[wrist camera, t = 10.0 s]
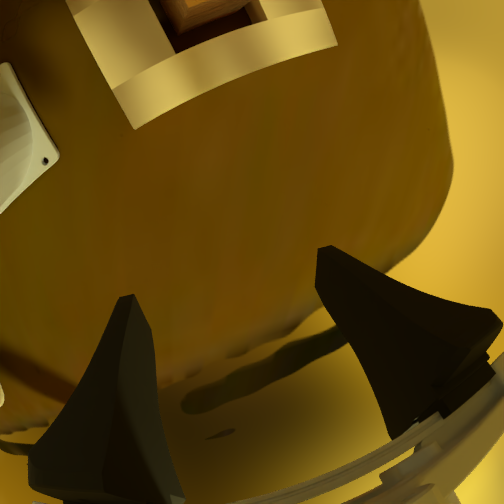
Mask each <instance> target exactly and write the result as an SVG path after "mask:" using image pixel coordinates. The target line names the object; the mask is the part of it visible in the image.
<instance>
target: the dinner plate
mask: <svg viewBox="0 0 504 504" xmlns="http://www.w3.org/2000/svg"><path fill="white" fill-rule="evenodd" d="M3 402H4V392H3V389H2V386H1V384H0V407H1V406H2V404H3Z"/></svg>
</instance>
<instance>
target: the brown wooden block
mask: <svg viewBox="0 0 504 504" xmlns="http://www.w3.org/2000/svg"><path fill="white" fill-rule="evenodd" d="M250 1H251V0H159V2H160V4H161V6H162V8H163V9H164V11H165V13H166V15H167V17H168V19H169V21H170V22H171V24H172V26H173V28H174V30H175V32H176V34H177V36H179V35H181V34H183V33H186V32H188V31H190V30H193V29H195V28H197V27H200V26H202V25H205V24H207V23H210V22H212V21H215V20H218V19H221V18H223V17H226V16H229V15H232V14H234V13H236V12H237V11H238V10H239V9H241V8H242V7H243V6H245V5H246V4H247V3H248V2H250Z"/></svg>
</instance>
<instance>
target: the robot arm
mask: <svg viewBox="0 0 504 504" xmlns="http://www.w3.org/2000/svg"><path fill="white" fill-rule="evenodd" d="M44 157H46V158H48V160H49V162H48V164H46V163H45V162H44ZM58 159H59V151H58V149H57V148H56V146H55V144H54V143H53V141H52V139H51V138H50V136H49V135H48V133H47V131H46V130H45V128H44V126H43V124H42V123H41V121H40V119H39V118H38V116H37V114H36V112H35V110H34V109H33V107H32V105H31V103H30V101H29V100H28V98H27V96H26V94H25V92H24V90H23V88H22V86H21V84H20V82H19V80H18V78H17V76H16V74H15V72H14V70H13V68H12V66H11V64H10V63H8V62H5V63H2V64H1V65H0V214H1V213H2V212H3V211H4V210H5V209H6V208H7V206H8V205H9V204H10V203H11V202H12V201H13V200H14V199H15V198H16V197H17V196H18V195H20V194H21V193H22V192H23V191H24V190H25V189H26V188H27V187H28V186H29V185H30V184H31V183H32V182H33V181H34V180H36V179H37V178H38V177H39V176H40V175H41V174H42V173H44V172H45V171H46V170H47V169H48V168H49V167H51V166H52V165H53V164H54V163H55V162H56V161H57V160H58ZM315 288H316V290H317V293H318V295H319V297H320V299H321V301H322V303H323V305H324V307H325V308H326V310H327V311H328V312H329V314H330V316H331V317H332V319H333V320H334V322H335V323H336V325H337V326H338V328H339V329H340V331H341V332H342V334H343V335H344V337H345V338H346V339H347V341H348V342H349V344H350V345H351V347H352V349H353V350H354V352H355V354H356V356H357V357H358V359H359V361H360V363H361V365H362V367H363V369H364V372H365V374H366V376H367V378H368V380H369V383H370V385H371V387H372V389H373V392H374V394H375V397H376V399H377V402H378V404H379V407H380V410H381V413H382V415H383V418H384V421H385V424H386V428H387V431H388V434H389V436H390V438H391V439H392V441H391V442H389V443H387V444H386V445H384V446H382V447H381V448H378V449H376V450H375V451H373V452H371V453H369V454H367V455H365V456H363V457H361V458H359V459H357V460H355V461H353V462H351V463H348V464H346V465H344V466H342V467H340V468H337V469H335V470H333V471H331V472H328V473H326V474H324V475H321V476H318V477H316V478H313V479H311V480H308V481H305V482H303V483H300V484H297V485H294V486H291V487H288V488H285V489H282V490H278V491H275V492H272V493H268V494H265V495H262V496H258V497H253V498H250V499H245V500H241V501H237V502H232V503H227V504H297V503H300V502H303V501H305V500H308V499H311V498H314V497H316V496H319V495H321V494H324V493H326V492H329V491H331V490H333V489H335V488H338V487H340V486H343V485H345V484H347V483H349V482H351V481H353V480H355V479H357V478H359V477H361V476H363V475H365V474H367V473H369V472H371V471H373V470H375V469H377V468H379V467H380V466H382V465H384V464H386V463H387V462H389V461H391V460H393V459H394V458H396V457H398V456H400V455H401V454H403V453H404V452H406V451H407V450H409V449H411V448H412V447H414V446H415V445H416V446H415V448H414V453H413V454H412V455H411V456H409V457H408V458H406V459H404V460H403V461H401V462H400V463H398V464H396V465H395V466H393V467H391V468H389V469H388V470H386V471H384V472H382V473H381V474H380V475H379V477H380V479H381V481H382V483H383V484H381V485H379V486H377V487H375V488H374V489H372V490H370V491H368V492H366V493H364V494H362V495H359V496H358V497H355V498H353V499H351V500H349V501H347V502H344V503H342V504H461V503H460V501H459V499H458V497H457V496H456V494H455V492H454V490H455V489H456V488H457V487H458V486H459V485H460V484H461V483H462V482H463V481H464V480H465V478H466V477H467V476H468V475H469V474H470V473H471V472H472V471H473V470H474V469H475V468H476V467H477V465H478V464H479V463H480V462H481V461H482V459H483V458H484V457H485V456H486V455H487V453H488V452H489V451H490V450H491V448H492V447H493V446H494V445H495V444H496V442H497V441H498V440H499V438H500V437H501V436H502V434H503V433H504V352H503V353H502V354H501V355H500V356H499V357H498V358H497V359H496V360H495V361H494V362H493V363H492V364H491V365H490V364H489V363H488V362H487V360H489V358H490V357H489V355H488V354H487V352H486V351H487V349H488V348H489V347H490V345H491V344H492V343H493V341H494V340H495V339H496V337H497V336H498V334H499V333H500V331H501V329H502V327H503V322H502V321H501V320H500V319H499V318H498V317H497V315H496V314H495V313H494V312H493V311H492V310H491V309H488V308H481V307H475V306H469V305H465V304H460V303H456V302H452V301H449V300H445V299H442V298H439V297H436V296H433V295H430V294H427V293H424V292H421V291H419V290H417V289H414V288H412V287H410V286H407V285H405V284H403V283H400V282H398V281H396V280H394V279H392V278H390V277H388V276H386V275H385V274H383V273H381V272H379V271H377V270H375V269H373V268H372V267H370V266H368V265H366V264H364V263H363V262H361V261H359V260H357V259H356V258H354V257H352V256H350V255H349V254H347V253H345V252H343V251H341V250H340V249H338V248H336V247H334V246H332V245H330V246H326V247H322V248H318V253H317V266H316V278H315ZM28 481H29V482H28V483H29V486H30V487H31V488H32V489H33V490H35V491H37V492H40V493H42V494H45V495H48V496H51V497H54V498H57V499H60V500H63V504H183V503H184V502H185V500H186V498H185V496H184V493H183V491H182V488H181V486H180V483H179V480H178V478H177V475H176V472H175V469H174V466H173V463H172V460H171V456H170V453H169V449H168V446H167V442H166V438H165V434H164V430H163V426H162V421H161V417H160V413H159V405H158V395H157V380H156V364H155V351H154V344H153V338H152V332H151V328H150V326H149V324H148V322H147V320H146V318H145V316H144V314H143V312H142V310H141V308H140V306H139V303H138V301H137V299H136V297H135V295H134V294H131V295H127V296H123V297H119V299H118V301H117V303H116V305H115V308H114V310H113V312H112V315H111V317H110V319H109V322H108V324H107V326H106V329H105V331H104V333H103V335H102V338H101V340H100V342H99V345H98V347H97V349H96V351H95V353H94V355H93V357H92V359H91V361H90V363H89V365H88V367H87V369H86V371H85V373H84V375H83V377H82V379H81V380H80V382H79V384H78V386H77V388H76V389H75V391H74V392H73V394H72V395H71V397H70V399H69V400H68V402H67V403H66V405H65V406H64V408H63V409H62V411H61V412H60V414H59V415H58V416H57V418H56V419H55V421H54V422H53V423H52V424H51V426H50V427H49V428H48V430H47V431H46V432H45V433H44V434H43V436H42V437H41V438H40V439H39V440H38V441H37V442H36V444H35V445H34V446H33V447H32V448H31V449H30V450H29V451H28ZM33 504H46V503H41V502H36V501H34V502H33Z"/></svg>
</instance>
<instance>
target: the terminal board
mask: <svg viewBox="0 0 504 504" xmlns="http://www.w3.org/2000/svg"><path fill="white" fill-rule="evenodd" d="M65 1H66V3H67V5H68V7H69V9H70V11H71V13H72V15H73V17H74V19H75V21H76V23H77V25H78V27H79V29H80V31H81V33H82V35H83V37H84V39H85V41H86V43H87V45H88V47H89V49H90V50H91V52H92V54H93V56H94V58H95V60H96V62H97V64H98V66H99V67H100V69H101V71H102V73H103V75H104V77H105V78H106V80H107V82H108V84H109V86H110V88H111V89H112V91H113V93H114V95H115V97H116V98H117V100H118V102H119V104H120V105H121V107H122V109H123V111H124V113H125V114H126V116H127V118H128V120H129V121H130V123H131V125H132V127H133V128H134V130H135V129H137V128H138V127H140V126H142V125H143V124H145V123H147V122H149V121H150V120H152V119H154V118H156V117H157V116H159V115H161V114H163V113H165V112H166V111H168V110H170V109H172V108H174V107H176V106H178V105H180V104H182V103H184V102H186V101H188V100H190V99H192V98H194V97H196V96H198V95H200V94H202V93H204V92H206V91H208V90H210V89H213V88H215V87H217V86H219V85H222V84H224V83H226V82H229V81H231V80H233V79H236V78H238V77H241V76H243V75H246V74H248V73H251V72H253V71H256V70H259V69H261V68H264V67H267V66H270V65H272V64H275V63H278V62H281V61H284V60H287V59H290V58H294V57H297V56H300V55H303V54H307V53H310V52H314V51H318V50H321V49H325V48H329V47H333V46H337V45H338V44H337V41H336V38H335V35H334V33H333V30H332V27H331V25H330V22H329V19H328V17H327V14H326V12H325V9H324V7H323V5H322V2H321V0H251V1H250V2H248V3H247V4H246V5H245V6H244V7H245V10H246V12H247V14H248V16H249V18H250V20H251V22H252V24H253V25H250V26H247V27H244V28H241V29H238V30H235V31H232V32H229V33H226V34H223V35H221V36H218V37H216V38H213V39H210V40H208V41H205V42H203V43H201V44H198V45H196V46H194V47H191V48H189V49H187V50H185V51H182V52H180V53H178V54H175V52H174V50H173V48H172V46H171V44H170V42H169V40H168V38H167V36H166V34H165V32H164V30H163V28H162V26H161V25H160V23H159V21H158V19H157V17H156V15H155V13H154V11H153V9H152V7H151V5H150V4H149V2H148V0H65Z"/></svg>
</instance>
